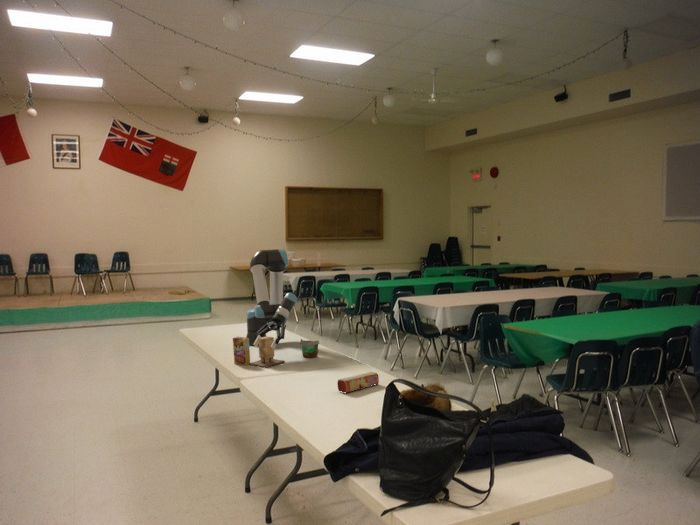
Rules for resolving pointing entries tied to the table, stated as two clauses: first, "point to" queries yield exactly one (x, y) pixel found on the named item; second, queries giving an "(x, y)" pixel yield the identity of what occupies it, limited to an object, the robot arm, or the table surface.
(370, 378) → the snack package
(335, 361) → the table surface
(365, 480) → the table surface
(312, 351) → the food container
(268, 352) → the oak block
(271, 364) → the peg stand
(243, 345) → the candy box
